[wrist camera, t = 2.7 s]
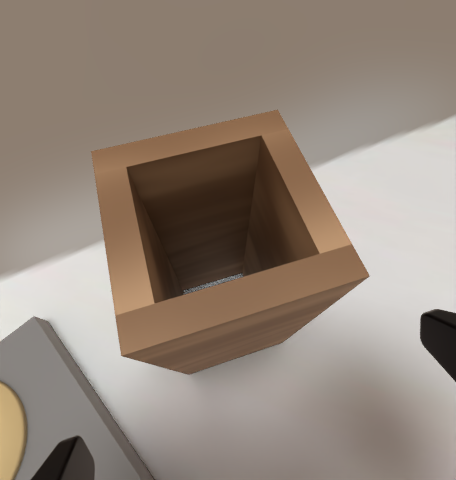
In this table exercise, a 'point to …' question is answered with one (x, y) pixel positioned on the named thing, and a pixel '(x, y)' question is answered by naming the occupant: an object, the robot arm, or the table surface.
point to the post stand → (54, 409)
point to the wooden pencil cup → (218, 242)
